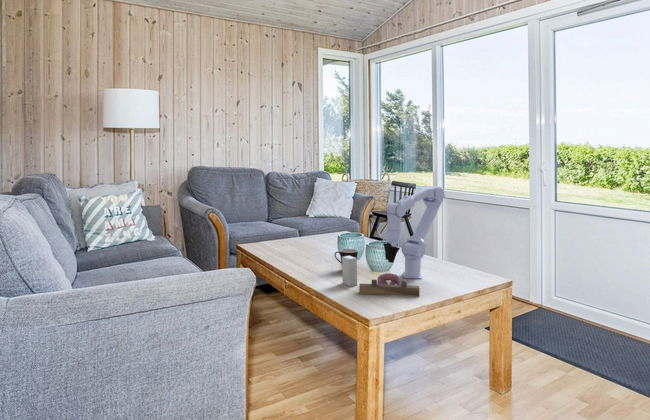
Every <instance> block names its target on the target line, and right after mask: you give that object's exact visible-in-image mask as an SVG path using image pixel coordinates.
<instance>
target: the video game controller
mask: <svg viewBox="0 0 650 420" xmlns="http://www.w3.org/2000/svg"><path fill="white" fill-rule="evenodd" d="M376 280H377V284H386V285H401V278H400V276H399V275H397V274H394V273H386V272H385V273H383V274H380V275H379V276H378V277H377V279H376ZM388 281H390V283H388Z"/></svg>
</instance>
